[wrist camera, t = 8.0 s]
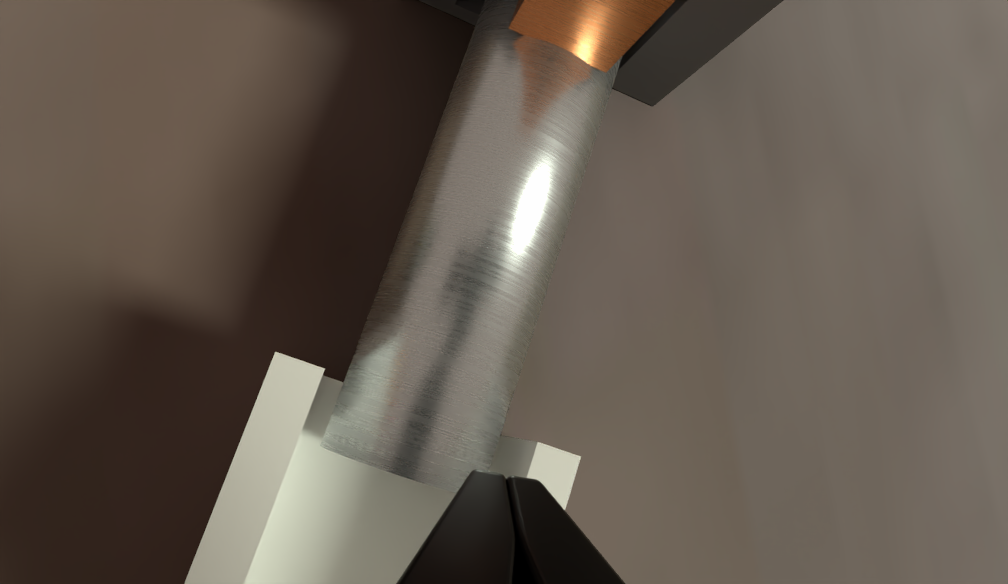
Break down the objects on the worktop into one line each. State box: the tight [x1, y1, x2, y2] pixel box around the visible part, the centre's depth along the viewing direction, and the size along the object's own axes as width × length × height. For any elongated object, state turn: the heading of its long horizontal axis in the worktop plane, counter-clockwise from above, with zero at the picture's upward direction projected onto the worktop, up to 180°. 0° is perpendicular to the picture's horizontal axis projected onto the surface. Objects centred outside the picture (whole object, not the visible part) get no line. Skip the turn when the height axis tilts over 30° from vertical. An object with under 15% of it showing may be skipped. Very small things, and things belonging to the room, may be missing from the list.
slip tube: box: [320, 0, 675, 493], centre depth 15 cm, size 16×4×10 cm, turn 161°
